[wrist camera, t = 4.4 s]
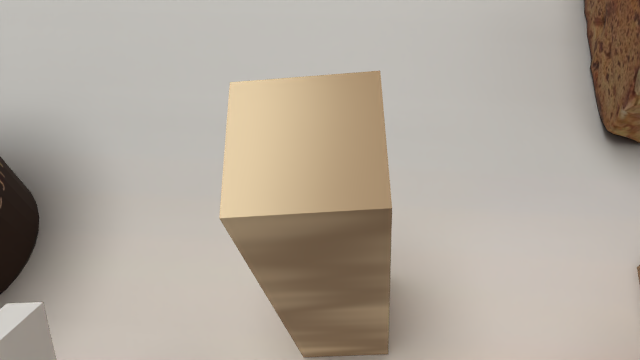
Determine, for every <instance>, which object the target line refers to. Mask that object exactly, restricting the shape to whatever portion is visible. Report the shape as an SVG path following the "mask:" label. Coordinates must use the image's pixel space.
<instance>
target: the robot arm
mask: <svg viewBox="0 0 640 360" xmlns="http://www.w3.org/2000/svg"><path fill="white" fill-rule="evenodd" d="M0 360H56V356H55V351H54V347H53V343H52V338H51V334H50V330H49V325H48V321H47V317H46V312H45V308H44V304H43V302H33V303H7V304H6V305H4V306H3V307H2V308H1V309H0Z"/></svg>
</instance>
